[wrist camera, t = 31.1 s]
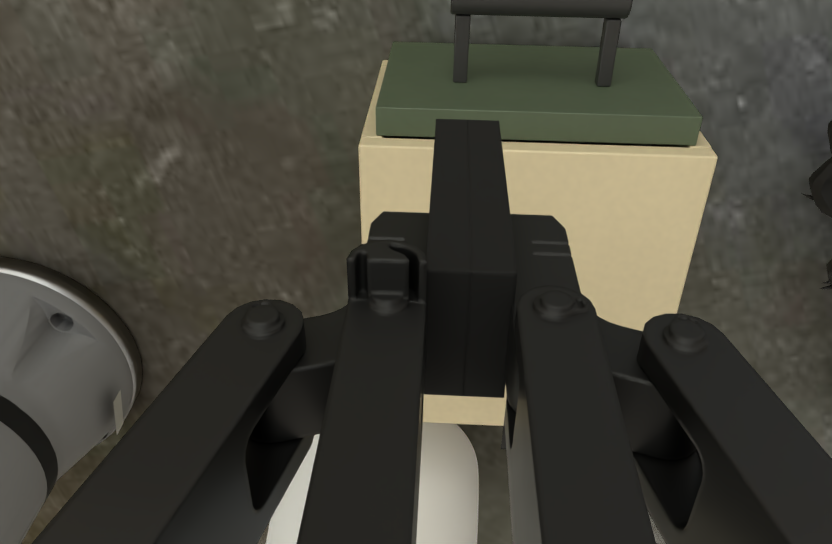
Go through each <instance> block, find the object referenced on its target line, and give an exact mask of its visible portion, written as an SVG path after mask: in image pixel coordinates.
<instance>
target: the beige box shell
mask: <svg viewBox="0 0 832 544" xmlns="http://www.w3.org/2000/svg"><path fill="white" fill-rule="evenodd" d="M387 63H388V60H383V61H382V65H381V69H380V72H379V76H378V79H377V83H376V86H375V90H374V93H373V97H372V100H371V104H370V107H369V111H368V114H367V118H366V121H365V125H364V128H363V132H362V135H361V139H360V143H359V146H358V149H359V178H360V208H361V238H362V244H365V243H367V240H368V235H369V230H370V226H371V223H372V222H373V221H374V220H375V219H376V218H377V217H378V216H379V215H380V214H381V213H382V212H383V211H390V212H418V213H429V209H430V195H431V182H432V168H433V154H434V140H431V139H401V136H377V135H376V109H375V108H376V104H377V100H378V97H379V93H380V89H381V85H382V82H383V78H384V74H385V70H386V66H387ZM650 145H651V146H620V145H589V144H557V143H526V142H502V149H503V157H504V166H505V174H506V182H507V191H508V199H509V207H510V214H525V215H552V216H553V217H554V218H555V219H556V220H557V221H558V222H559V223H560V224H561V225H562V226H563V227H564V228H565V229H566V233H567V238H568V242H569V246H570V250H571V257H572V258H573V262H574V266H575V271H576V275H577V279H578V283H579V287H580V291H581V294H583V295H584V296H585V297H587V298H588V299H589V300H590V301H591V302H592V304H593V306H594V307H595V309H596V313H597V316H598V317H600V318H602V319H604V320H606V321H608V322H610V323H613V324H617V325H620V326H623V327H627V328H631V329H635V330H639V331H643V329H644V325H645V323H646V322H647V321H649V320H650V319H651V318H652V317H654V316H658V315H662V314H677V311H678V307H679V303H680V299H681V296H682V292H683V288H684V284H685V280H686V277H687V273H688V269H689V265H690V261H691V258H692V254H693V250H694V246H695V242H696V239H697V235H698V231H699V227H700V223H701V220H702V216H703V212H704V208H705V204H706V201H707V197H708V193H709V189H710V185H711V182H712V178H713V174H714V170H715V166H716V163H717V159H718V157H717V155H716V154H715V152H714V151H713V150H712V147H711V146H710V144H709V143H708V142H707V140H706V139H705V137H704V136H703V135H702V133H701V132H700V131H699V135H698V139H697V144H696V146H689V145H657V144H650ZM506 399H507V393H506V385H505V394H504V398H493V397H470V396H448V395H425V394H424V402H423V422H428V423H450V424H472V425H494V426H504V417H505V408H506Z"/></svg>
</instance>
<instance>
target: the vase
mask: <svg viewBox="0 0 832 544" xmlns="http://www.w3.org/2000/svg"><path fill="white" fill-rule="evenodd" d="M319 436H320V434H317V435H314V438H313V442H312V445H311V447H310V449H309V451H308V453H307V454H306V456H305V458H304V460H303V462H302V463H301V465H300V467H299V469H298V471H297V472H296V474H295V476H294V478H293V480H292V481H291V483H290V485H289V487H288V489H287V490H286V492H285V494H284V496H283V498H282V499H281V501H280V503H279V505H278V507H277V508H276V510H275V512H274V514H273V516H272V518H271V519H270V524H269V529H268V535H267V540H266V544H297V539H298V534H299V530H300V525H301V520H302V516H303V511H304V506H305V502H306V497H307V492H308V488H309V483H310V478H311V473H312V469H313V464H314V459H315V455H316V450H317V445H318V441H319ZM478 502H479V472H478V463H477V458H476V454H475V451H474V448H473V446H472V444H471V442H470V440H469V439H468V437H467V436H466V434H465V433H464V432H463V430H462V429H461V428H460V427H459V426H458V425H457V424H450V423H428V422H423V428H422V446H421V464H420V483H419V501H418V520H417V538H416V544H477V532H478Z"/></svg>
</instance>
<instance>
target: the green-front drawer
mask: <svg viewBox="0 0 832 544" xmlns="http://www.w3.org/2000/svg"><path fill="white" fill-rule="evenodd" d="M632 2H633V0H451V14H455V39H454V43H423V42H393V44H392V48H391V51H390V55H389V59H388V63H387V66H386V70H385V74H384V78H383V82H382V85H381V89H380V93H379V97H378V100H377V104H376V108H375V109H376V135H377V136H401V139H431V140H435V126H436V119H461V120H494V121H499V124H500V132H501V140H531V141H562V142H581V144H589V145H620V146H651V145H650V144H657V145H689V146H696V144H697V139H698V135H699V131H700V127H701V123H702V119H703V117H702V115H701V114H700V113H699V111H698V110H697V109H696V107H695V106H694V105H693V103H692V102H691V101H690V99H689V98H688V97H687V95H686V94H685V93H684V91H683V90H682V89H681V87H680V86H679V85H678V83H677V82H676V81H675V79H674V78H673V77H672V75H671V74H670V73H669V71H668V70H667V69H666V67H665V66H664V65H663V63H662V62H661V61H660V59H659V58H658V57H657V55H656V54H655V53H654V51H653V50H652V49H645V48H617V45H618V39H619V33H620V27H621V19H625V18H627V17H628V15H629V13H630V11H631V7H632ZM470 15H503V16H542V17H581V18H604V23H603V30H602V37H601V43H600V47H571V46H534V45H497V44H469V35H470Z"/></svg>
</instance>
